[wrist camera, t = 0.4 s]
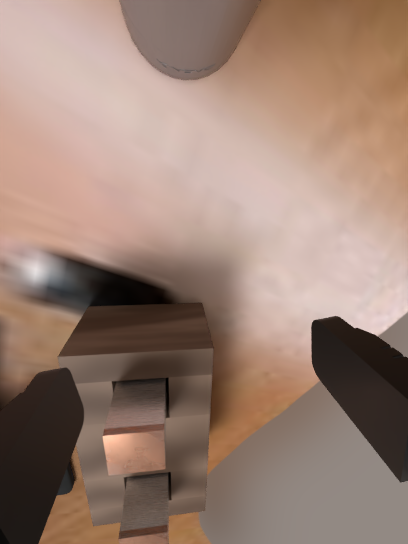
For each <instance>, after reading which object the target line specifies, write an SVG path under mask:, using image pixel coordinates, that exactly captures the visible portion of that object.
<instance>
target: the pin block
mask: <svg viewBox="0 0 408 544" xmlns="http://www.w3.org/2000/svg"><path fill="white" fill-rule="evenodd" d="M213 350H214V348H213V344H212V340H211V336H210V332H209V328H208V324H207V320H206V316H205V312H204V308H203V305H202V303H181V304H150V305H119V306H89V307H88V308H87V310H86V311H85V313H84V315H83V316H82V318H81V320H80V321H79V323H78V325H77V326H76V328H75V329H74V331H73V333H72V334H71V336H70V338H69V339H68V341H67V342H66V344H65V346H64V347H63V349H62V351H61V352H60V354H59V356H58V361H59V366H60V368H65V367H66V368H68V369H69V370H70V372H71V374H72V377H73V379H74V382H75V385H76V387H77V390H78V393H79V395H80V398H81V401H82V403H83V407H84V422H83V427H82V430H81V432H80V435H79V437H78V440H77V443H76V447H77V451H78V456H79V461H80V466H81V470H82V475H83V480H84V485H85V489H86V494H87V499H88V504H89V508H90V513H91V518H92V523H93V526H98V525H105V524H113V523H120V522H121V518H122V511H123V504H124V497H125V490H126V482H127V477H130V476H139V475H148V474H156V473H165V472H169V516H171V515H178V514H186V513H193V512H200V511H205V503H206V485H207V465H208V446H209V427H210V408H211V389H212V369H213ZM153 378H166V464H165V469H164V470H155V471H146V472H137V473H129V474H120V475H111V476H109V475H108V468H107V462H106V455H105V449H104V442H103V432H104V428H105V424H106V420H107V416H108V413H109V409H110V405H111V401H112V397H113V393H114V389H115V385H116V381H124V380H139V379H153Z"/></svg>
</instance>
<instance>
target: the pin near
mask: <svg viewBox="0 0 408 544" xmlns="http://www.w3.org/2000/svg"><path fill="white" fill-rule="evenodd" d="M103 442H104V449H105V455H106V462H107V468H108V475H109V476H111V475H120V474H129V473H137V472H146V471H155V470H164V469H165V464H166V378H153V379H139V380H124V381H116V385H115V389H114V393H113V397H112V401H111V405H110V409H109V413H108V416H107V420H106V424H105V428H104V432H103Z"/></svg>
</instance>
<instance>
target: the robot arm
mask: <svg viewBox="0 0 408 544" xmlns="http://www.w3.org/2000/svg"><path fill="white" fill-rule="evenodd" d="M260 1H261V0H119V2H120V5H121V8H122V12H123V15H124V19H125V22H126V25H127V28H128V30H129V33H130V35H131V38H132V40H133V41H134V43H135V45H136V46H137V48H138V50H139V51H140V53H141V54H142V55H143V56H144V57H145V59H146V60H147V61H148V62H149V63H150V64H151V65H152V66H154V67H155V68H156V69H158V70H159V71H160V72H162V73H164V74H166V75H168V76H170V77H172V78H177V79H182V80H197V79H200V78H203V77H206V76H209V75H210V74H212V73H214V72H215V71H217V70H218V69H219V68H220V67H221V66H222V65H223V64H225V63H226V62H227V61H228V59H229V57H230V56H231V54H232V53H233V51H234V50H235V48H236V46H237V44H238V42H239V40H240V39H241V37H242V35H243V33H244V31H245V29H246V27H247V25H248V24H249V22H250V20H251V18H252V16H253V14H254V12H255V10H256V8H257V7H258V5H259V3H260ZM311 330H312V364H313V368H314V370H315V373H316V375H317V376H318V378H319V379H320V381H321V382H322V383H323V385H324V386H325V387H326V388H327V390H328V391H329V392H330V393H331V395H332V396H333V397H334V399H335V400H336V401H337V402H338V403H339V405H340V406H341V407H342V409H343V410H344V411H345V413H346V414H347V415H348V416H349V418H350V419H351V420H352V421H353V423H354V424H355V425H356V427H357V428H358V429H359V430H360V431H361V433H362V434H363V435H364V437H365V438H366V439H367V440H368V442H369V443H370V444H371V446H372V447H373V448H374V449H375V451H376V452H377V453H378V454H379V456H380V457H381V458H382V460H383V461H384V462H385V463H386V464H387V466H388V467H389V468H390V470H391V471H392V472H393V473H394V475H395V476H396V477H397V478H398V480H399V481H400V482H405V481H408V358H407V357H403V355H402V354H401V353H400V352H399V351H397V350H396V349H394V348H391V347H390V345H389V344H387V343H386V342H384V341H383V340H382V339H380V338H379V337H377V336H376V335H374V334H371V333H369V332H366V331H364V330H362V329H359V328H353V327H352V326H351V325H349V324H348V323H347V322H345V321H344V320H343V319H341V318H340V317H338V316H334V317H328V318H323V319H318V320H314V321H313V322H312V327H311ZM83 422H84V407H83V403H82V401H81V398H80V395H79V393H78V390H77V387H76V385H75V382H74V379H73V377H72V374H71V372H70V370H69V369H68V368H66V367H65V368H59V369H54V370H49V371H44V372H40V373H38V374H37V375H36V376H35V377H34V379H33V380H32V381H31V383H30V384H29V385H28V387H27V388H26V390H25V391H24V392H23V393H20V394H19V395H18V396H17V397H16V398H14V399H13V400H12V401H11V402H10V403H9V404H7V405H6V406H5V407H4V408H3V409H2V410H1V411H0V544H38V543H39V541H40V538H41V535H42V533H43V530H44V527H45V525H46V522H47V519H48V517H49V514H50V512H51V509H52V506H53V504H54V501H55V498H56V496H57V493H58V490H59V488H60V485H61V482H62V480H63V477H64V475H65V472H66V469H67V467H68V464H69V461H70V459H71V456H72V453H73V451H74V448H75V445H76V443H77V440H78V437H79V435H80V432H81V430H82V427H83Z"/></svg>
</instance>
